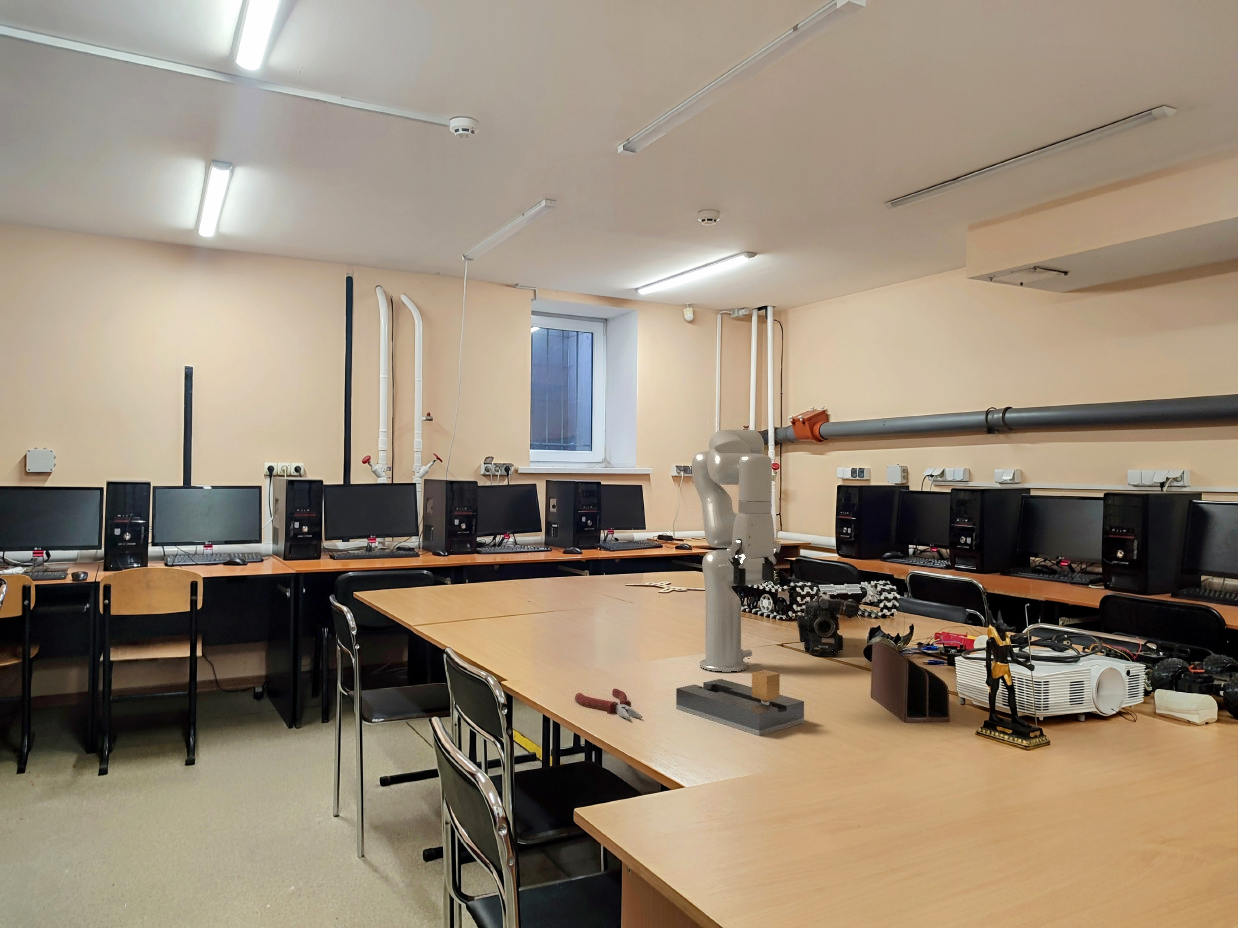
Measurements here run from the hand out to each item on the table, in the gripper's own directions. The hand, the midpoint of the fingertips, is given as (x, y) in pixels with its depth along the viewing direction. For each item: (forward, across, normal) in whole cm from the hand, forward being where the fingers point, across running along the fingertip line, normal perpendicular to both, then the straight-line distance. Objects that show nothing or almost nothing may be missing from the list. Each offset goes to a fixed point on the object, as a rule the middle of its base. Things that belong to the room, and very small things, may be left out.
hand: (753, 582), depth 186 cm
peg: (+25, +12, +14) cm, 31 cm away
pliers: (+28, +31, -15) cm, 44 cm away
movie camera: (+30, -60, -24) cm, 71 cm away
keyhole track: (+26, +12, +7) cm, 30 cm away
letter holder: (+27, -22, +26) cm, 44 cm away
